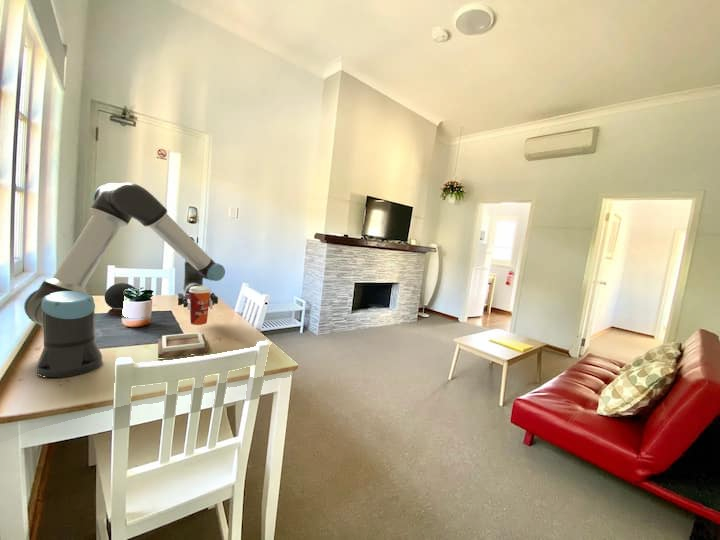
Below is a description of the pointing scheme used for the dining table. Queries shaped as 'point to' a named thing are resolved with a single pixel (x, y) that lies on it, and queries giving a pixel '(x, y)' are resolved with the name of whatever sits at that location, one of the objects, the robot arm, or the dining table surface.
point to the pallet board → (182, 345)
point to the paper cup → (199, 304)
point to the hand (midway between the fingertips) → (200, 306)
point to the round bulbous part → (116, 298)
